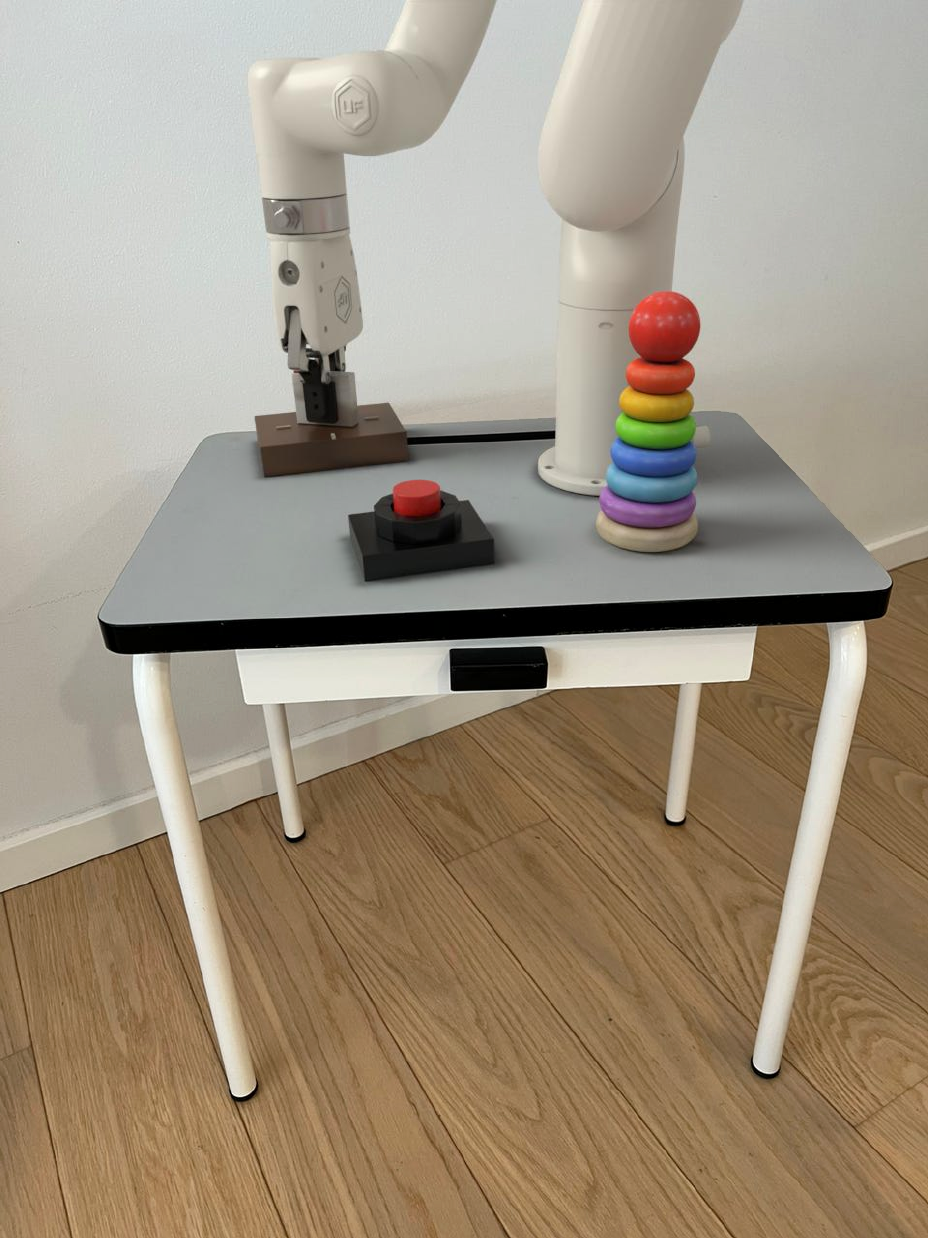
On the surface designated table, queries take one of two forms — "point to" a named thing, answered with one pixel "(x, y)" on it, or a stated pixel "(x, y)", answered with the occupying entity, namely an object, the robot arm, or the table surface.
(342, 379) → the grey rectangular block
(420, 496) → the button
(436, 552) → the switch block
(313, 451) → the brown base block
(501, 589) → the table surface
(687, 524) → the stacking toy
